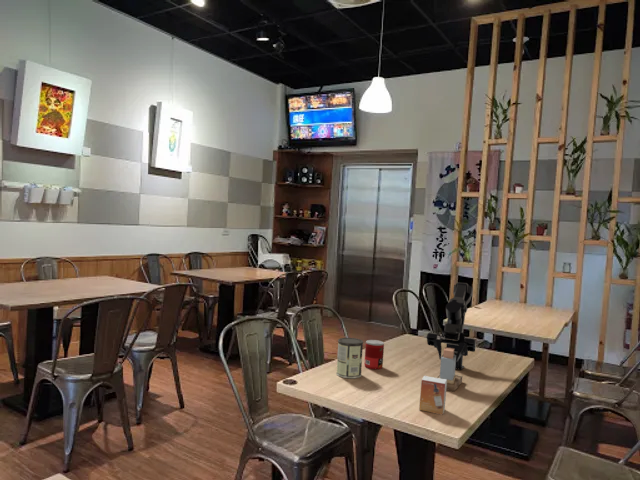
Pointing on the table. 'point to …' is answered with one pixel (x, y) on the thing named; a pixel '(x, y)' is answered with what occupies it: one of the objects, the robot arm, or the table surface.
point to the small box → (433, 395)
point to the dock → (455, 385)
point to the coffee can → (349, 357)
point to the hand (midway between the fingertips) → (448, 360)
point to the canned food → (374, 354)
